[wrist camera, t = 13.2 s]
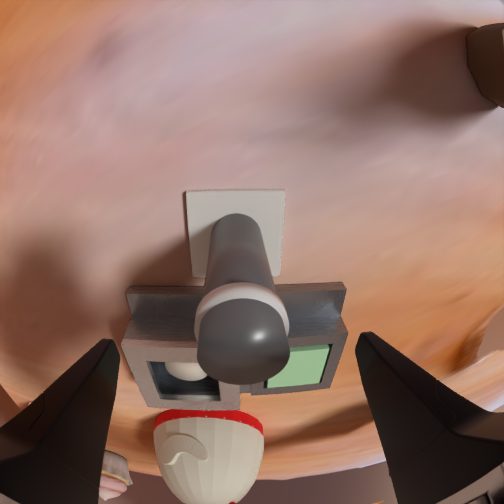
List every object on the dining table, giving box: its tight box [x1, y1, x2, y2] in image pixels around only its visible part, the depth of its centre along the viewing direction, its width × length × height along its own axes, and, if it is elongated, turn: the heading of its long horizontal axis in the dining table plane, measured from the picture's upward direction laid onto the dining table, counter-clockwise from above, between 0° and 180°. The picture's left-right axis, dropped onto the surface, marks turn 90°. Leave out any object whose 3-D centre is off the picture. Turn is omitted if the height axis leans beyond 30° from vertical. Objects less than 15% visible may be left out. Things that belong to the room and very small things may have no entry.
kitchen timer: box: [153, 409, 264, 504], centre depth 24 cm, size 14×14×15 cm
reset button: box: [165, 362, 207, 381], centre depth 21 cm, size 4×4×1 cm
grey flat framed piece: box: [121, 282, 348, 410], centre depth 21 cm, size 12×16×4 cm
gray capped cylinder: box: [194, 213, 290, 385], centre depth 14 cm, size 4×4×10 cm
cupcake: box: [99, 451, 133, 501], centre depth 32 cm, size 9×9×10 cm
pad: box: [186, 189, 286, 278], centre depth 18 cm, size 6×6×1 cm
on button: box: [266, 344, 329, 388], centre depth 21 cm, size 4×4×2 cm
